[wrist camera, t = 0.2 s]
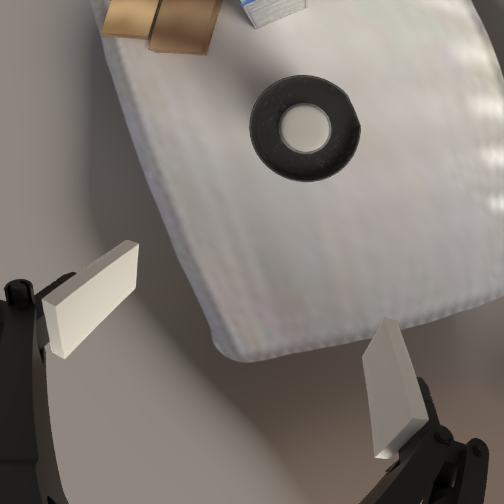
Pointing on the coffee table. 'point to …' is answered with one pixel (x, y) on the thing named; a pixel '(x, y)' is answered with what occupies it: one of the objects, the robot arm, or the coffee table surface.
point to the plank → (130, 18)
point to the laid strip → (184, 26)
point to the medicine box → (270, 10)
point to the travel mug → (304, 128)
